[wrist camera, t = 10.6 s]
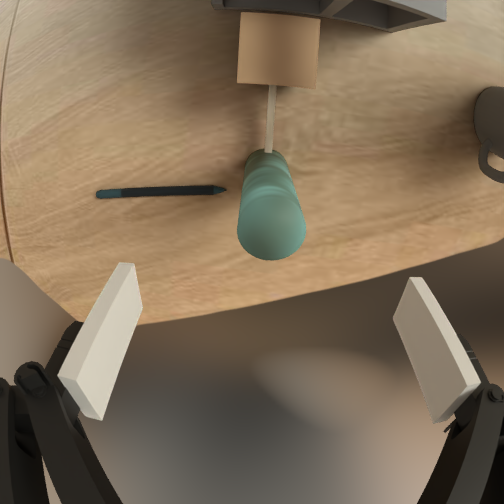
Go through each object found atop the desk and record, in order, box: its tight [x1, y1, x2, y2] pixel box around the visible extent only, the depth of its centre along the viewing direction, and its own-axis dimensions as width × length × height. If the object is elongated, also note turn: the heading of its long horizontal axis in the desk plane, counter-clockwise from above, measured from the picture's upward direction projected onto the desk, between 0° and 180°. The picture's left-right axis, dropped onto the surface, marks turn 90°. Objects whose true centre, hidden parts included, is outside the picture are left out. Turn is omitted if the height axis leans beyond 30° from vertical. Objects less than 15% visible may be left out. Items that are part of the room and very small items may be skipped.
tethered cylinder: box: [237, 12, 320, 260], centre depth 22 cm, size 6×17×14 cm, turn 177°
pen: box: [96, 185, 226, 199], centre depth 33 cm, size 1×16×1 cm, turn 90°
